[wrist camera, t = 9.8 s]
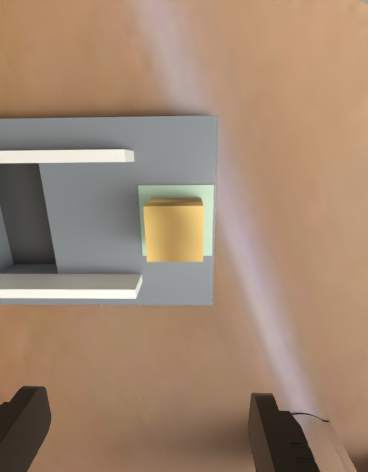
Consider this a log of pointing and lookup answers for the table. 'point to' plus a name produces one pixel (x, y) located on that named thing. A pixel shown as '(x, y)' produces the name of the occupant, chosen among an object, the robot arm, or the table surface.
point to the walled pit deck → (101, 208)
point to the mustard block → (174, 229)
